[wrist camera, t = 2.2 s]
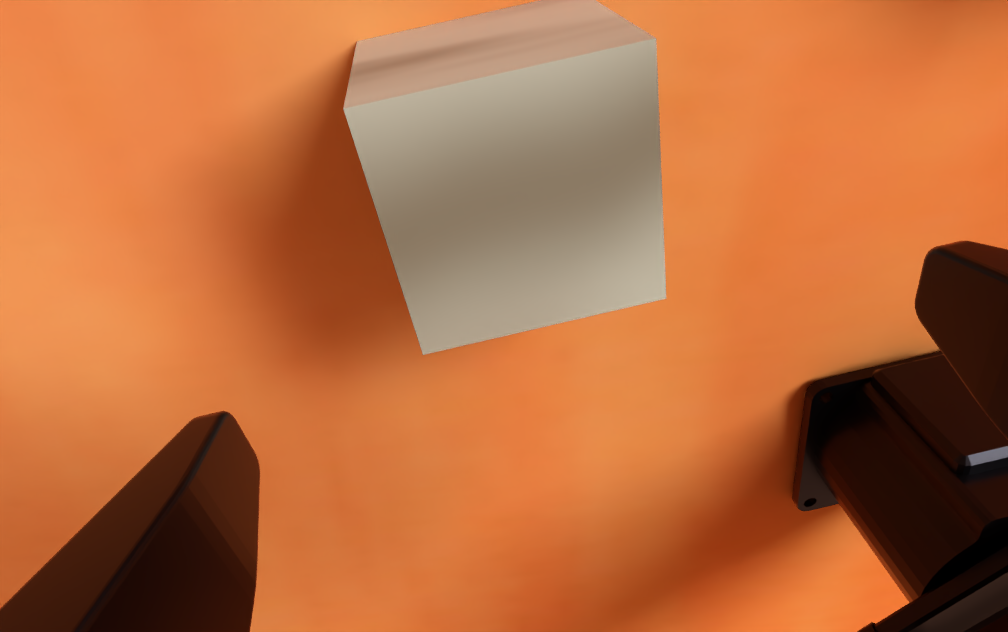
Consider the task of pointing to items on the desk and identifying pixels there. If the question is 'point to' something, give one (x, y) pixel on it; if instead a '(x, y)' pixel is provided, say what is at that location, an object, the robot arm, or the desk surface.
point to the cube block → (514, 167)
